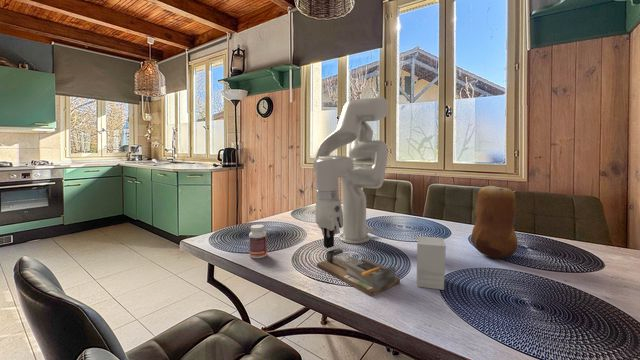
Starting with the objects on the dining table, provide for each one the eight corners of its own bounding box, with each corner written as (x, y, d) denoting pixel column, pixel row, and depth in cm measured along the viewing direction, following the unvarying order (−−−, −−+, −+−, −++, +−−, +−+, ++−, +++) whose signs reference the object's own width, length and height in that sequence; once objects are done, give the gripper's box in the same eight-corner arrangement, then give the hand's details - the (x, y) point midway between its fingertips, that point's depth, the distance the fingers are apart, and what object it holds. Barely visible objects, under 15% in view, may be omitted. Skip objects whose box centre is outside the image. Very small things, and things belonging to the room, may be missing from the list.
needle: (379, 277, 86) (379, 265, 86) (384, 279, 85) (384, 267, 84) (359, 285, 82) (359, 272, 81) (364, 287, 80) (365, 274, 80)
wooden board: (344, 258, 105) (344, 243, 104) (399, 283, 86) (400, 265, 85) (317, 266, 98) (316, 251, 97) (370, 296, 78) (370, 277, 78)
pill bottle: (269, 256, 107) (268, 226, 106) (253, 260, 103) (252, 229, 102) (263, 251, 112) (262, 222, 111) (247, 254, 109) (245, 225, 107)
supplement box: (442, 279, 88) (444, 237, 86) (444, 290, 81) (446, 246, 80) (416, 275, 90) (417, 235, 89) (415, 286, 83) (417, 243, 82)
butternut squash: (512, 252, 108) (517, 184, 105) (519, 266, 96) (525, 190, 93) (469, 247, 114) (473, 182, 111) (471, 260, 102) (475, 187, 99)
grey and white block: (338, 256, 102) (338, 248, 101) (366, 269, 91) (366, 260, 91) (326, 260, 99) (326, 251, 98) (353, 274, 88) (353, 264, 88)
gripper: (351, 196, 96) (351, 250, 99) (323, 190, 108) (324, 238, 111) (333, 200, 92) (334, 256, 95) (305, 193, 104) (307, 243, 107)
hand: (329, 246), depth 103 cm, fingers closed
